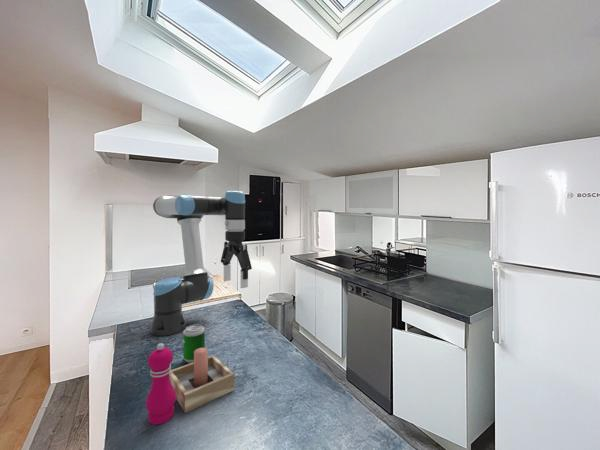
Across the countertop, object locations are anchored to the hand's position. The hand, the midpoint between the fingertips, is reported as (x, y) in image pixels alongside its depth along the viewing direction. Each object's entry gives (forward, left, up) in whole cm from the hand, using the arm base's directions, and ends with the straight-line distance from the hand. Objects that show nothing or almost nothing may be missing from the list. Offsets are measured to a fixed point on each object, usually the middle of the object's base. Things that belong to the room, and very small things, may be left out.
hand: (235, 284), depth 109 cm
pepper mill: (+19, -33, -27) cm, 46 cm away
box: (+15, -20, -27) cm, 36 cm away
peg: (+15, -20, -27) cm, 36 cm away
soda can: (-4, -15, -27) cm, 31 cm away
